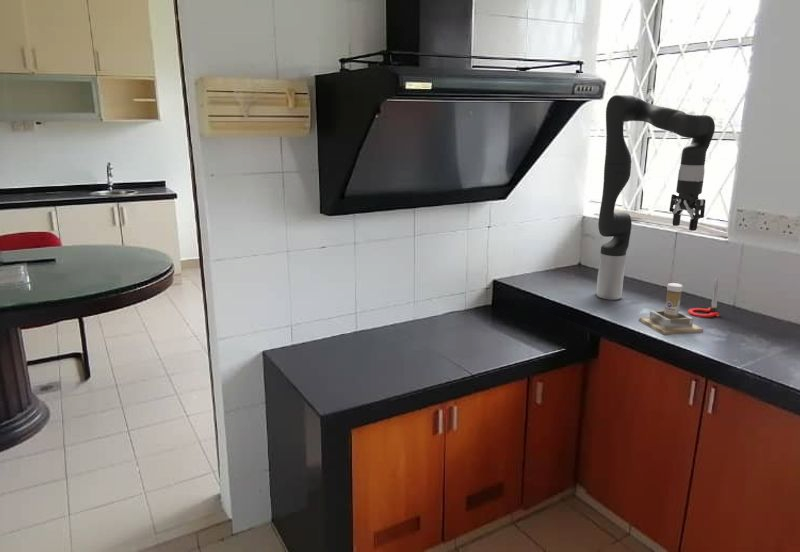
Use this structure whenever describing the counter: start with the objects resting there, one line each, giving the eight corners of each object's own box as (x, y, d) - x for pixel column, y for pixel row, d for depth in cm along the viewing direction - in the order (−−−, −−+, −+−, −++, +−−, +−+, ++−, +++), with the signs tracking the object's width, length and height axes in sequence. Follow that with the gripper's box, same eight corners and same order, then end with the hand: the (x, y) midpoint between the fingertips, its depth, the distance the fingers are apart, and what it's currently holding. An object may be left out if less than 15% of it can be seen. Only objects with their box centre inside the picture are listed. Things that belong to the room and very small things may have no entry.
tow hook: (694, 318, 201) (721, 318, 200) (697, 283, 198) (724, 282, 197) (683, 311, 209) (710, 310, 209) (686, 277, 206) (713, 276, 205)
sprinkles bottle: (660, 323, 193) (665, 284, 189) (664, 319, 196) (669, 281, 192) (675, 326, 190) (680, 287, 186) (679, 322, 193) (684, 284, 189)
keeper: (639, 320, 198) (640, 309, 197) (675, 317, 201) (677, 306, 200) (663, 334, 185) (665, 323, 184) (702, 331, 187) (704, 320, 186)
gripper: (666, 176, 193) (660, 224, 197) (694, 181, 179) (687, 232, 184) (686, 176, 194) (680, 223, 198) (716, 180, 180) (708, 231, 185)
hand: (684, 228), depth 191 cm, fingers open, 8 cm apart
